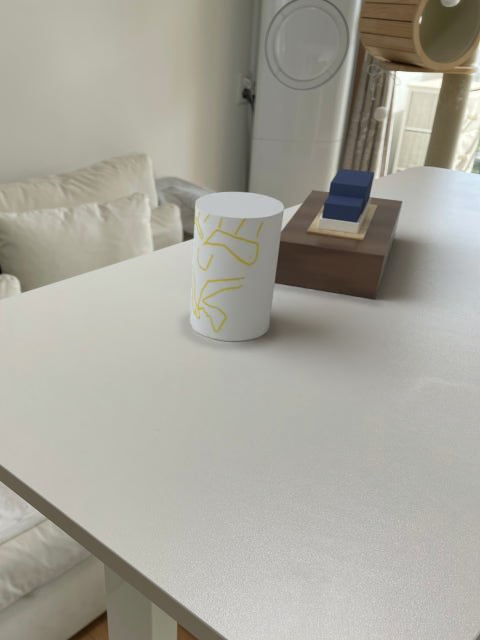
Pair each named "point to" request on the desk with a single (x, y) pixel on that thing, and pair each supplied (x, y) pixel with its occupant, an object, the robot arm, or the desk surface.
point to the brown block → (337, 249)
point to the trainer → (347, 201)
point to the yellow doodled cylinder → (234, 264)
